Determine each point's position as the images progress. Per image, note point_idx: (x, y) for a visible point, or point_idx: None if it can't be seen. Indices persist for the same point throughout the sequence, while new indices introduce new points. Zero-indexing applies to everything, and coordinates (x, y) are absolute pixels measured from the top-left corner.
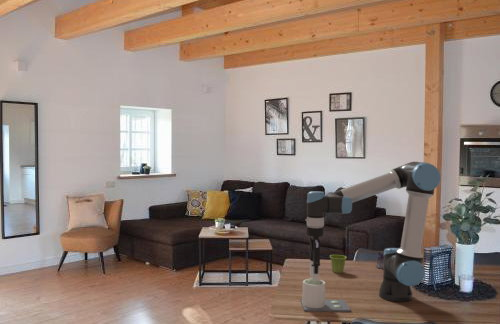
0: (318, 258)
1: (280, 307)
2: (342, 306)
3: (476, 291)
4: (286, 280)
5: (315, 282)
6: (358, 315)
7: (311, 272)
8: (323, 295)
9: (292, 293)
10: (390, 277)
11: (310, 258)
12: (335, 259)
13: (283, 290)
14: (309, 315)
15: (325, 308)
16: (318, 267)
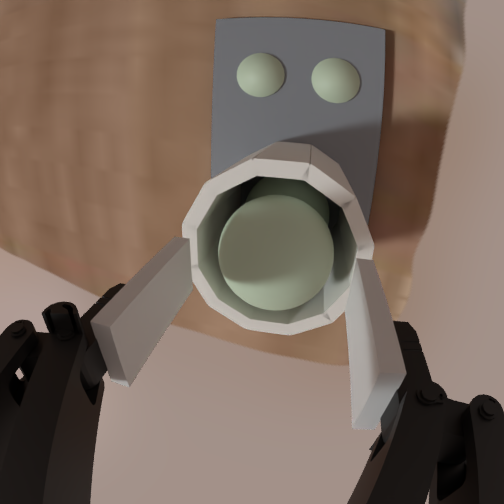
0: (500, 502)
1: (296, 341)
2: (332, 51)
3: None
4: (13, 245)
5: (327, 265)
6: (430, 20)
7: (181, 293)
8: (338, 171)
9: (120, 257)
10: None
11: (100, 403)
12: None
13: (96, 282)
14: (411, 253)
15: (361, 155)
16: (400, 363)
